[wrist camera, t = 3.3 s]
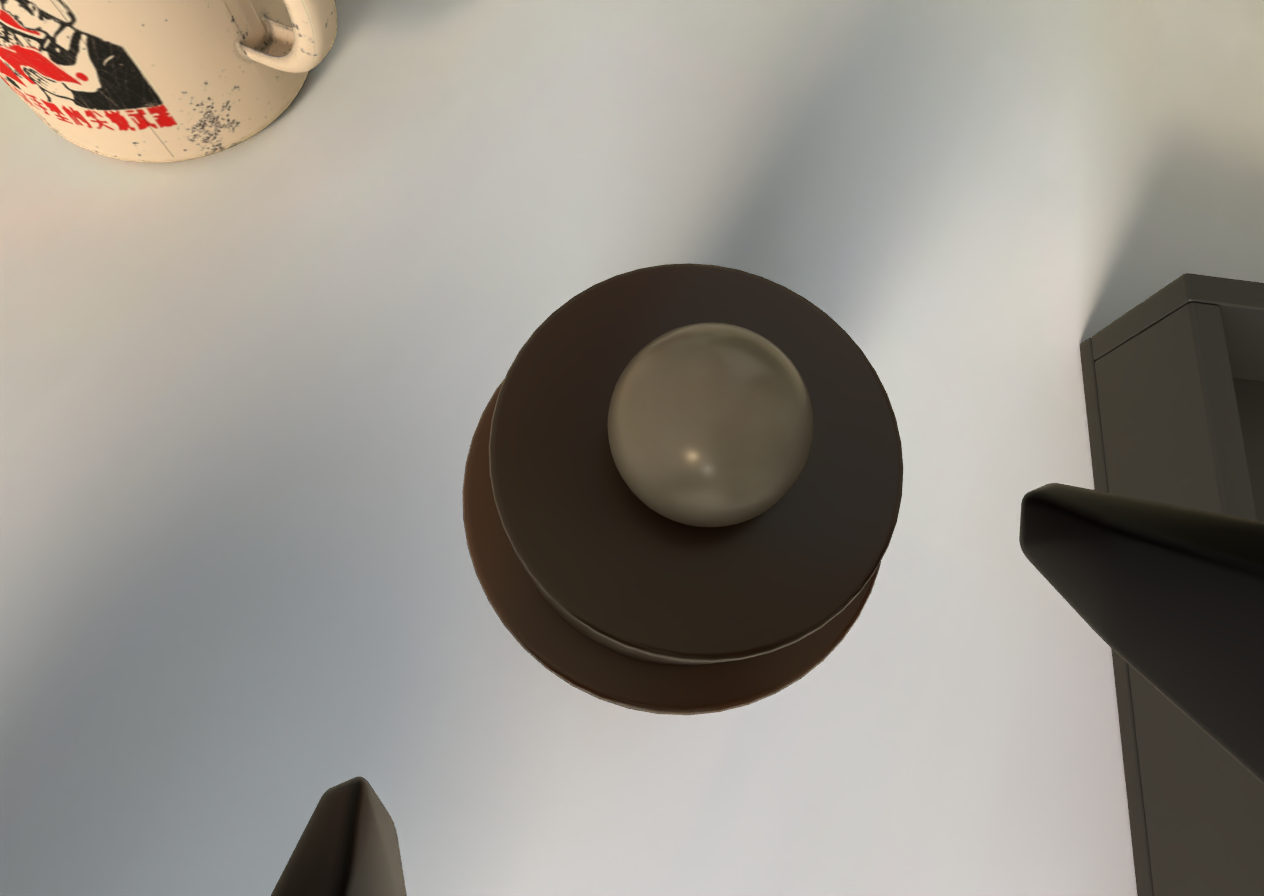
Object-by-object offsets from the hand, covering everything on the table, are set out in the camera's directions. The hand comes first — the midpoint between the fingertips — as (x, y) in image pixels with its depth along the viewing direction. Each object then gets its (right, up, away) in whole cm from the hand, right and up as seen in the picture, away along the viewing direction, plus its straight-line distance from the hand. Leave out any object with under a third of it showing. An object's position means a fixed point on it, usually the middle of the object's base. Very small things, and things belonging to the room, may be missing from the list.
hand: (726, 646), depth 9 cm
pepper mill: (-1, -1, +9) cm, 10 cm away
